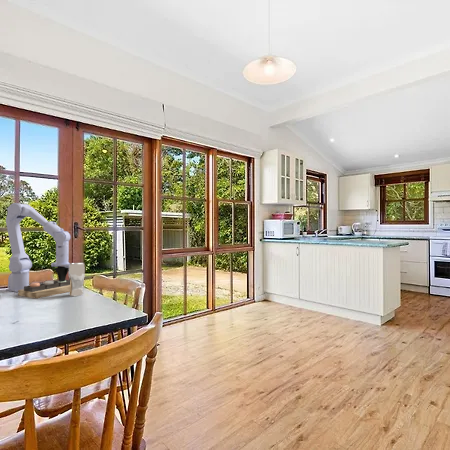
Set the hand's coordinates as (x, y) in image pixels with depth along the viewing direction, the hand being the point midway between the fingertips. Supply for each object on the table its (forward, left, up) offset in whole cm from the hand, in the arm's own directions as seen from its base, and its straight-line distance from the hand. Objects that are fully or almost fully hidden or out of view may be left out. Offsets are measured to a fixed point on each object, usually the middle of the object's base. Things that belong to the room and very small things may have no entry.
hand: (62, 281), depth 158 cm
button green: (0, 0, -2) cm, 2 cm away
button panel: (0, -7, -4) cm, 8 cm away
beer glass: (+16, -4, -5) cm, 17 cm away
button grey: (0, -7, -1) cm, 7 cm away
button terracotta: (0, -14, -1) cm, 14 cm away
